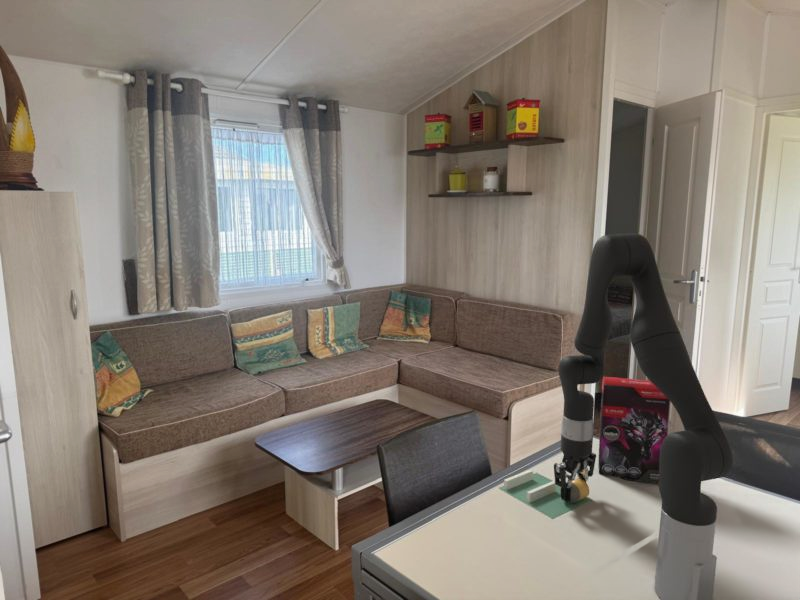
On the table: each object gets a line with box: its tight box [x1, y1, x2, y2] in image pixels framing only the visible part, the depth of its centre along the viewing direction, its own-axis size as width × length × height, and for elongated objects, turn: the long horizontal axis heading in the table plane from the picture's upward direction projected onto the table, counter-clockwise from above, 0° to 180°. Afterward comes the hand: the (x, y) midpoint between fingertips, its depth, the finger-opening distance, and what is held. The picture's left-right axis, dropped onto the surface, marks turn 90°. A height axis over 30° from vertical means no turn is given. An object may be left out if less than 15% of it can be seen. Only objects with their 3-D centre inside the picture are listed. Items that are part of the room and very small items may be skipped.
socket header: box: [503, 469, 556, 503], centre depth 147 cm, size 9×10×2 cm
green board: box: [498, 472, 592, 520], centre depth 145 cm, size 18×15×1 cm
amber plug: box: [560, 477, 590, 504], centre depth 142 cm, size 5×5×5 cm
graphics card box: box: [597, 376, 671, 485], centre depth 155 cm, size 17×7×27 cm, turn 73°
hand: (573, 496), depth 143 cm, fingers open, 5 cm apart
